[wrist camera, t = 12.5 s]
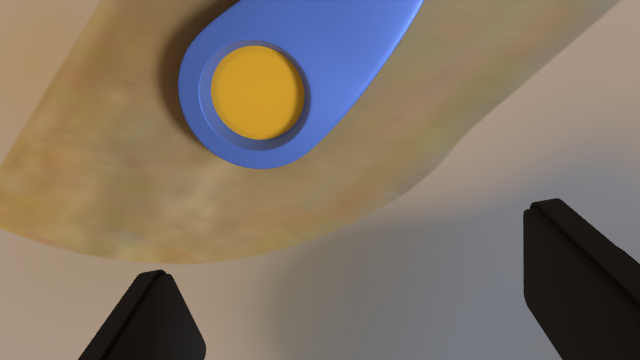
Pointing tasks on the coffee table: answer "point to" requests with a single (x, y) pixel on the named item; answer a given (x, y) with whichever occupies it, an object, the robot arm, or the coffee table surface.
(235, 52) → the location marker
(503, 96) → the coffee table surface
